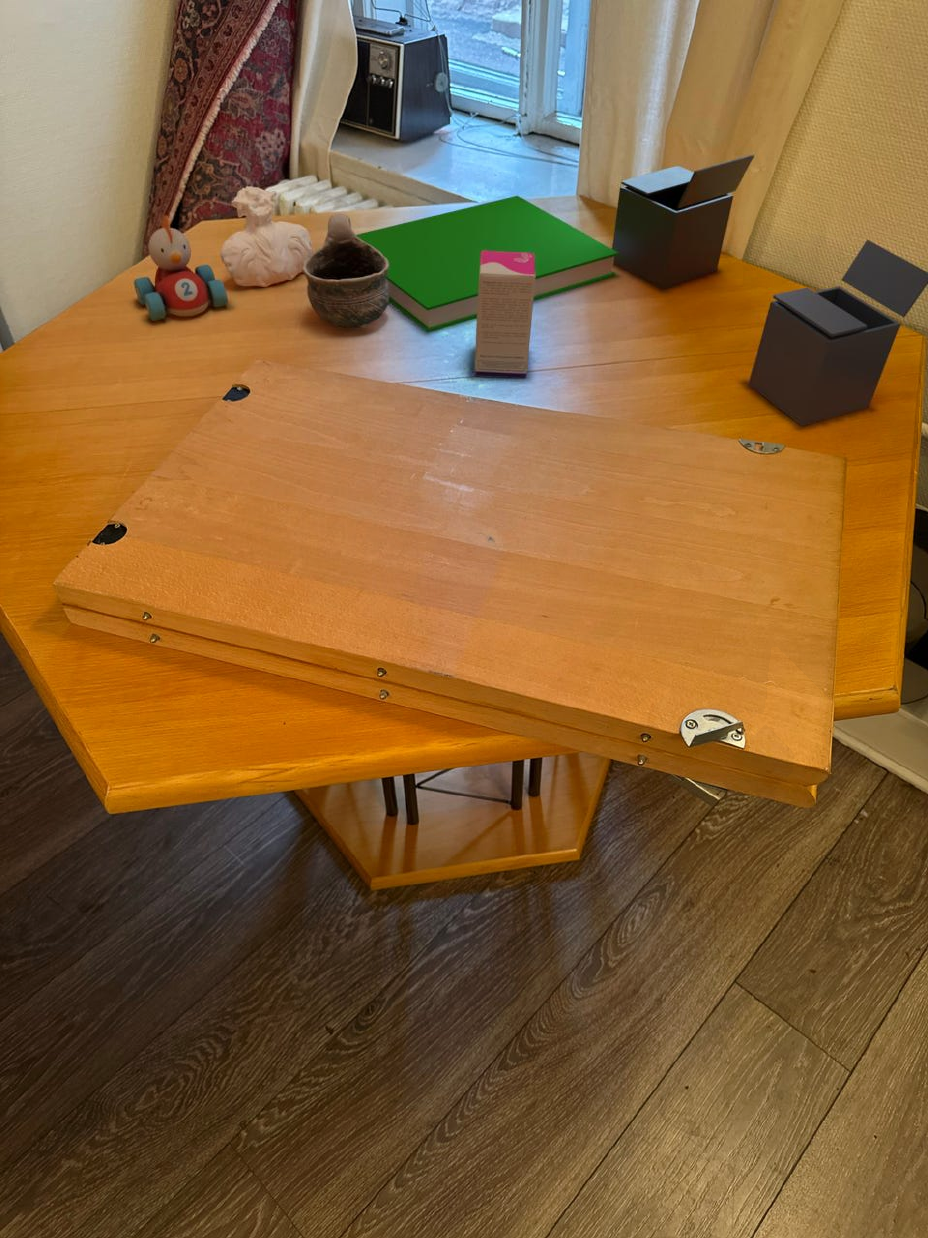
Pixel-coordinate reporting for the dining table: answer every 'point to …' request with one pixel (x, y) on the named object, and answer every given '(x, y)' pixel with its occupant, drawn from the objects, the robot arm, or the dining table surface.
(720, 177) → the back flap
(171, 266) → the toy car
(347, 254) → the mug
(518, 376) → the supplement box
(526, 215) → the book
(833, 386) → the front carton
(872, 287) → the front flap
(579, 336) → the dining table surface
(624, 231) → the back carton
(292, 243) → the bust
